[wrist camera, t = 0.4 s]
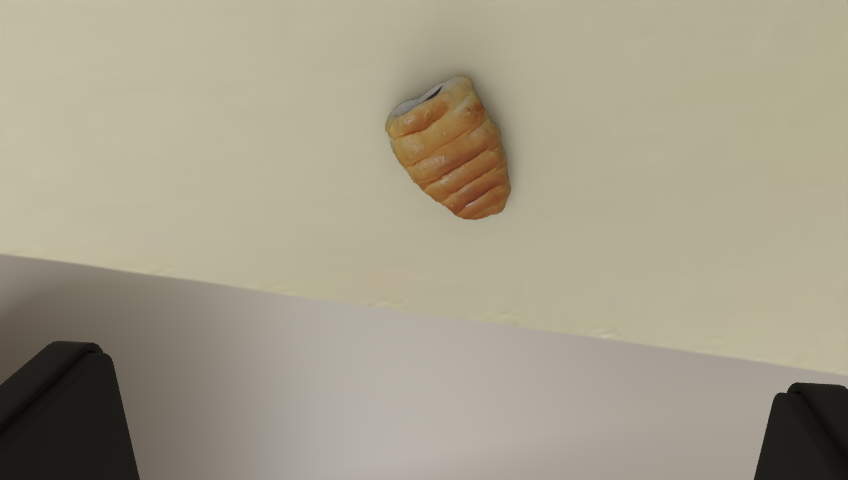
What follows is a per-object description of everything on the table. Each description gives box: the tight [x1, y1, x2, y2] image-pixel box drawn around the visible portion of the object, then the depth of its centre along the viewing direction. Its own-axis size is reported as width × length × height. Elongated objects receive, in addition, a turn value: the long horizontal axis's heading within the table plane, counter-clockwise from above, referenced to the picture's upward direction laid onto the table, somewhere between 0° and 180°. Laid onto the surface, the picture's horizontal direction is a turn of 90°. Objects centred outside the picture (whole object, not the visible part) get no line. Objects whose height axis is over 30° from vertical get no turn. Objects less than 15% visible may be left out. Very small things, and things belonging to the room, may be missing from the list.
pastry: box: [385, 75, 511, 220], centre depth 42 cm, size 9×7×4 cm
